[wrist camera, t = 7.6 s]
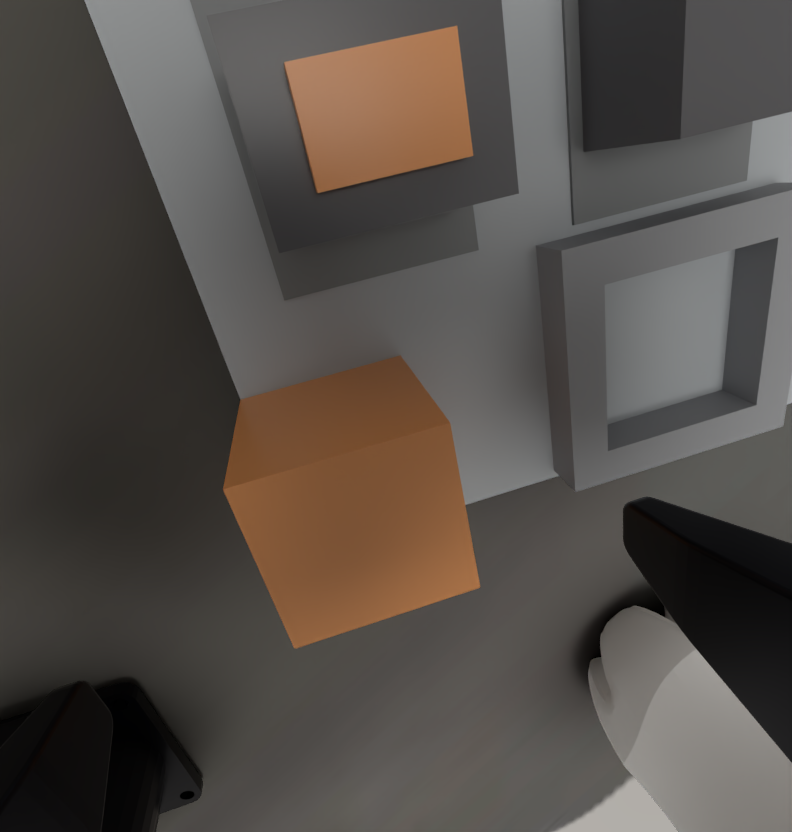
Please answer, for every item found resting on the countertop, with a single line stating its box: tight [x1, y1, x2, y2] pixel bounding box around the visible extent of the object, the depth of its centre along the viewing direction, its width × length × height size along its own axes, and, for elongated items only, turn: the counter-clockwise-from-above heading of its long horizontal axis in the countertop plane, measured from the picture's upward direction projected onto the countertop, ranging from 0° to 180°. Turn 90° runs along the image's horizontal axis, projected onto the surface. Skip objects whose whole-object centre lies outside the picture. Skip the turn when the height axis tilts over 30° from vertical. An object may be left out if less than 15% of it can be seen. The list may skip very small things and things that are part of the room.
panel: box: [84, 0, 792, 505], centre depth 10 cm, size 20×16×5 cm
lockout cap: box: [223, 355, 480, 649], centre depth 11 cm, size 4×4×4 cm
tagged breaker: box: [207, 0, 519, 253], centre depth 8 cm, size 3×4×3 cm
